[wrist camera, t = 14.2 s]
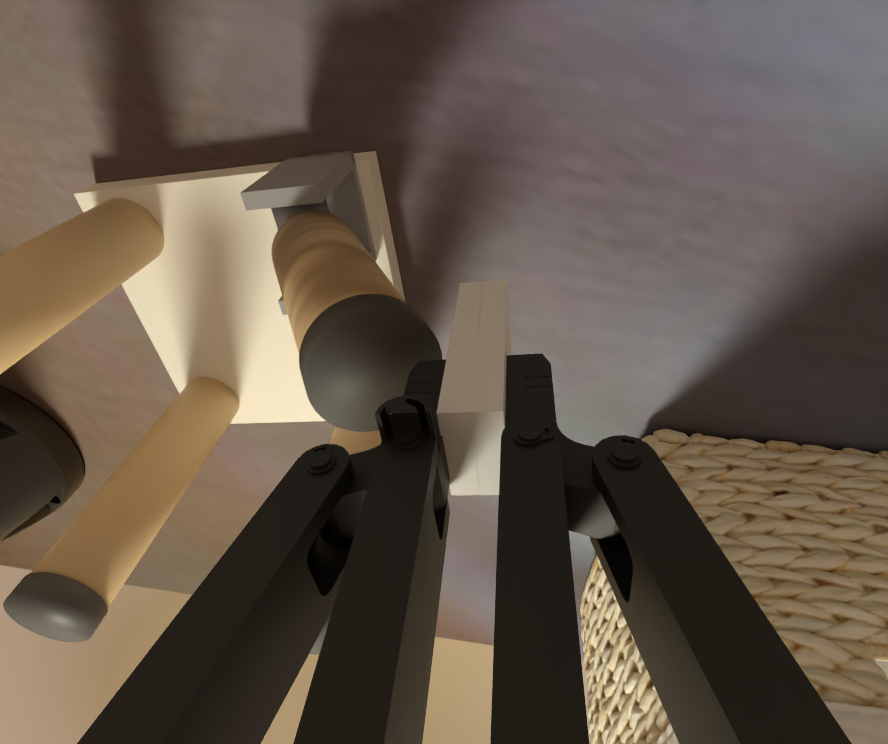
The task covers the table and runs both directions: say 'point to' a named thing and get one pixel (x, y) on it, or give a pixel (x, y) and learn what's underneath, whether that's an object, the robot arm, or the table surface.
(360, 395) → the hinged leg
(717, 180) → the table surface
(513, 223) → the table surface
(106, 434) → the table surface
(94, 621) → the stool seat
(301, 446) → the table surface
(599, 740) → the basket
